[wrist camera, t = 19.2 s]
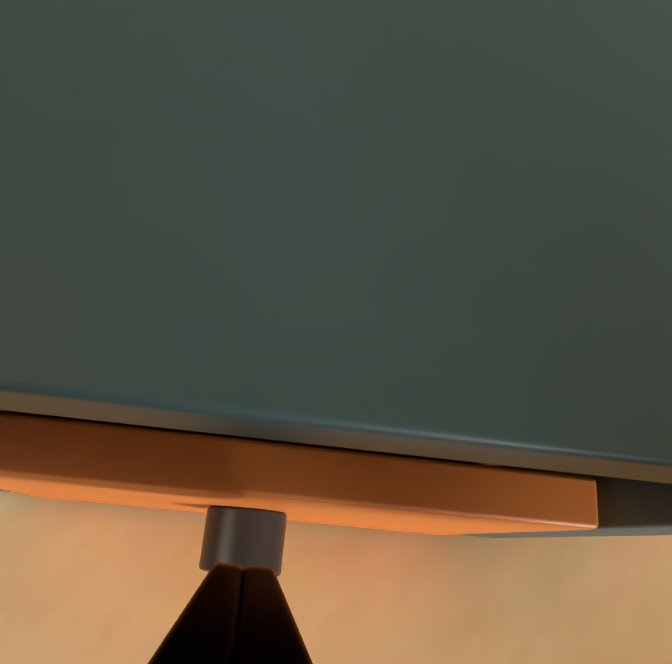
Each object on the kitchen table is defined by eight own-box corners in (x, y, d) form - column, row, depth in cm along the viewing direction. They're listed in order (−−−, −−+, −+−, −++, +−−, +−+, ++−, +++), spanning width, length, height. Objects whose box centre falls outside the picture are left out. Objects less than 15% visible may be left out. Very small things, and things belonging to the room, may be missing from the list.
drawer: (439, 583, 16) (606, 616, 9) (19, 547, 15) (-183, 552, 8) (449, 176, 20) (568, -24, 13) (123, 121, 19) (57, -133, 12)
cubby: (496, 538, 17) (1208, 527, 5) (-35, 487, 15) (-1186, 253, 3) (494, 148, 21) (856, -397, 9) (81, 75, 20) (-177, -721, 7)
